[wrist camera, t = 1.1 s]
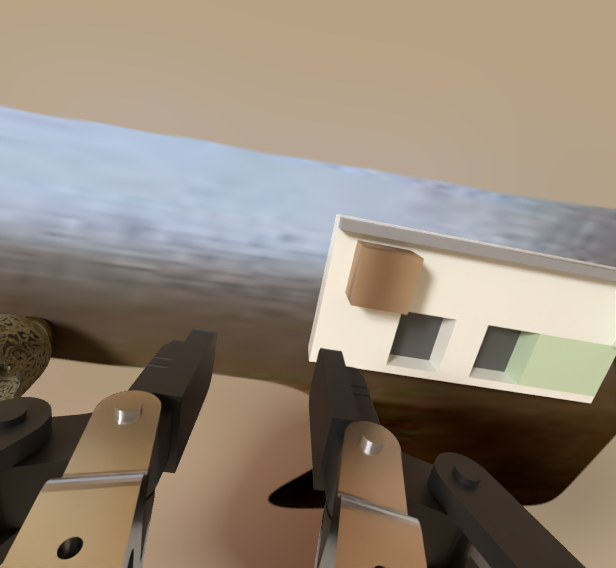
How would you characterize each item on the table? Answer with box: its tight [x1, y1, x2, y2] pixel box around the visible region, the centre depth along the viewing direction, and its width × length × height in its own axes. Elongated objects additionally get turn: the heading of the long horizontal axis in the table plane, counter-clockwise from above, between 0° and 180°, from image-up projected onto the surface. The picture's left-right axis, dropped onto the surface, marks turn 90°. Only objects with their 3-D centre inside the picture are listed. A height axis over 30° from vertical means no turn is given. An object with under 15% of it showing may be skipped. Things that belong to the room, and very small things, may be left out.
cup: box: [0, 314, 55, 401], centre depth 27 cm, size 8×7×8 cm
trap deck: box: [308, 214, 616, 403], centre depth 30 cm, size 28×13×6 cm, turn 79°
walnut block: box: [345, 240, 424, 315], centre depth 27 cm, size 4×4×3 cm
